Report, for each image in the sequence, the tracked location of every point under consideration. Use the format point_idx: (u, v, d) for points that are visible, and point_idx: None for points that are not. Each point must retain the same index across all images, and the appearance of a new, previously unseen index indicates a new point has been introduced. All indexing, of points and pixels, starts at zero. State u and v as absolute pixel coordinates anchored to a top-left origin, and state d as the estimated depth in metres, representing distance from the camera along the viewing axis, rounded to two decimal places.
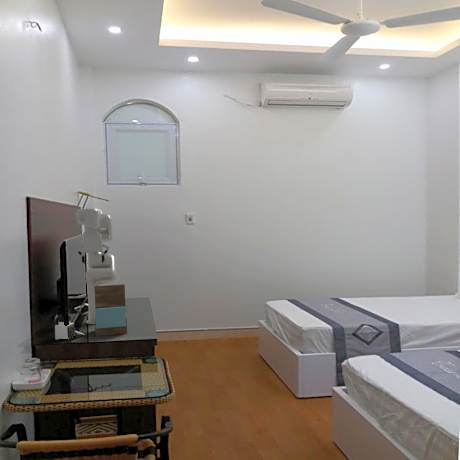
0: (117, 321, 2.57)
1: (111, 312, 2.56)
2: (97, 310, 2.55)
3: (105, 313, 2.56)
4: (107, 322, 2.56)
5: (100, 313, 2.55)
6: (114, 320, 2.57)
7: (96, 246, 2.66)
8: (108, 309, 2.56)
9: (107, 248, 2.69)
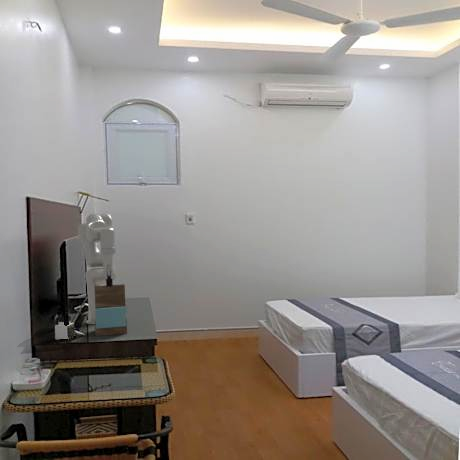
0: (117, 321, 2.57)
1: (111, 312, 2.56)
2: (97, 310, 2.55)
3: (105, 313, 2.56)
4: (107, 322, 2.56)
5: (100, 313, 2.55)
6: (114, 320, 2.57)
7: None
8: (108, 309, 2.56)
9: None
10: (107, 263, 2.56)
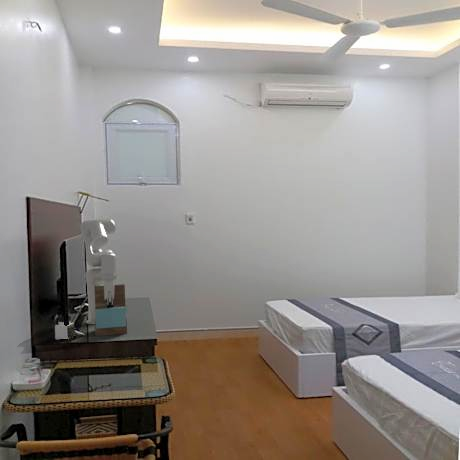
0: (117, 321, 2.57)
1: (111, 312, 2.56)
2: (97, 310, 2.54)
3: (105, 313, 2.55)
4: (107, 322, 2.56)
5: (100, 313, 2.55)
6: (114, 320, 2.57)
7: None
8: (108, 309, 2.55)
9: None
10: (108, 289, 2.53)
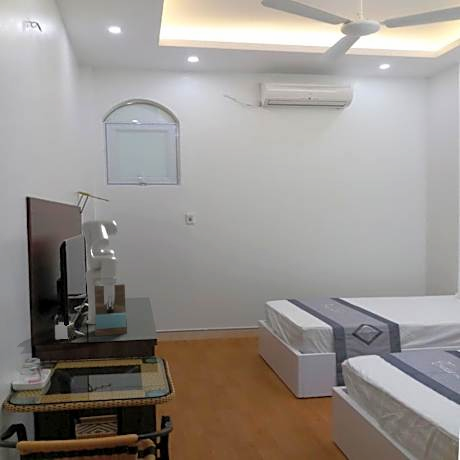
0: (117, 323, 2.55)
1: (111, 318, 2.52)
2: (97, 317, 2.49)
3: (105, 319, 2.51)
4: (107, 325, 2.55)
5: (100, 319, 2.51)
6: (114, 323, 2.55)
7: None
8: (108, 316, 2.50)
9: None
10: (108, 294, 2.48)
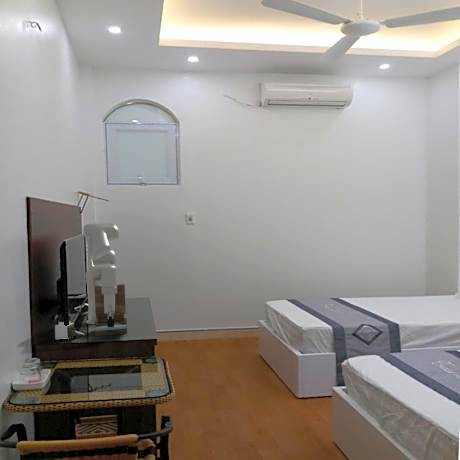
0: None
1: None
2: (97, 330, 2.47)
3: None
4: None
5: None
6: None
7: None
8: (109, 329, 2.48)
9: None
10: (108, 303, 2.44)
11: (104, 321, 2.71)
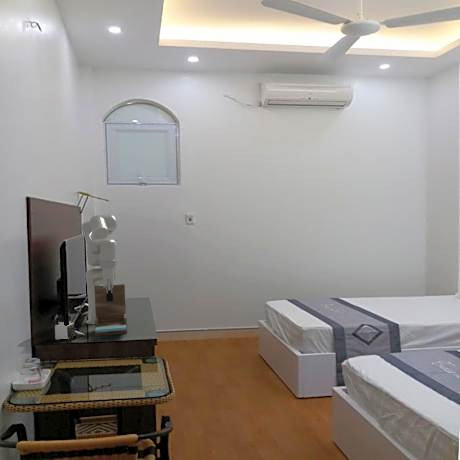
0: None
1: None
2: (97, 331, 2.47)
3: None
4: None
5: None
6: None
7: None
8: None
9: None
10: (107, 277, 2.44)
11: (104, 321, 2.71)
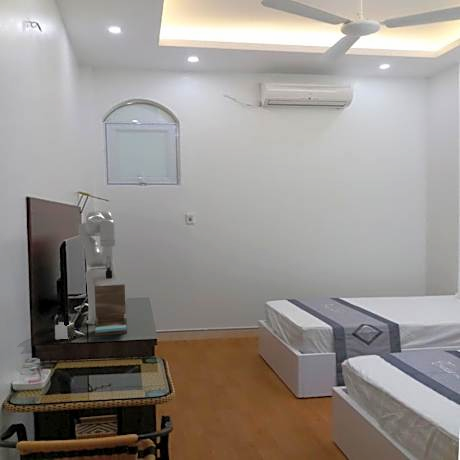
0: None
1: None
2: (97, 331, 2.47)
3: None
4: None
5: None
6: None
7: None
8: None
9: None
10: (107, 255, 2.55)
11: (104, 321, 2.71)
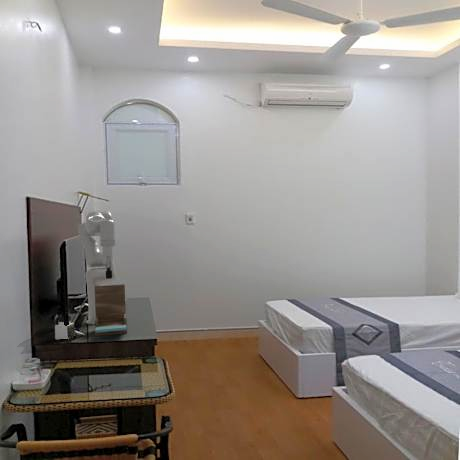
0: None
1: None
2: (97, 331, 2.47)
3: None
4: None
5: None
6: None
7: None
8: None
9: None
10: (107, 255, 2.55)
11: (104, 321, 2.71)
